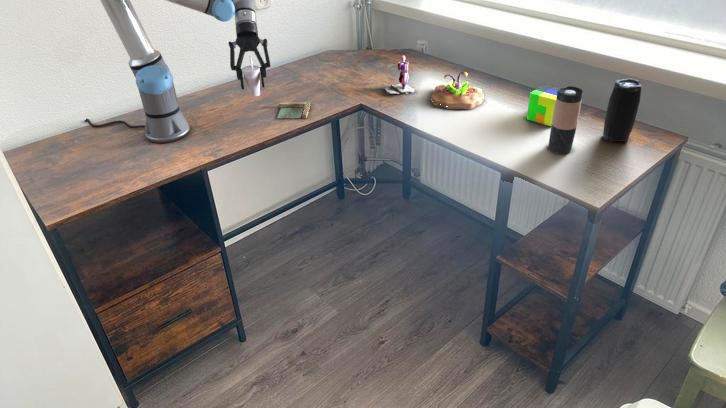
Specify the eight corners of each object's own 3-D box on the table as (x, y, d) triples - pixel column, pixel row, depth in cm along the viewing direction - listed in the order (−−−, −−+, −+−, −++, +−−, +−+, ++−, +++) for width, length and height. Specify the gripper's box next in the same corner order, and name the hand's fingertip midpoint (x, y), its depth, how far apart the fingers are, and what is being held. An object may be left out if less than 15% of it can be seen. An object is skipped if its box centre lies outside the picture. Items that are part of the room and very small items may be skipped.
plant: (478, 112, 204) (481, 83, 198) (426, 107, 210) (427, 78, 203) (486, 92, 220) (489, 64, 214) (438, 87, 225) (439, 60, 219)
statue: (405, 87, 229) (409, 51, 222) (414, 95, 222) (419, 58, 214) (381, 89, 225) (384, 52, 218) (390, 96, 218) (393, 59, 210)
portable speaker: (595, 138, 184) (608, 82, 173) (611, 129, 189) (624, 75, 178) (619, 147, 179) (634, 90, 168) (634, 138, 184) (649, 82, 173)
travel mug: (568, 156, 175) (580, 97, 164) (544, 150, 178) (554, 92, 167) (574, 146, 180) (586, 88, 169) (551, 141, 184) (561, 84, 172)
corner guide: (274, 118, 205) (274, 115, 205) (279, 106, 215) (279, 102, 214) (306, 118, 205) (306, 114, 204) (310, 105, 214) (310, 102, 213)
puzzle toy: (565, 117, 198) (570, 91, 193) (552, 126, 192) (557, 100, 187) (540, 110, 204) (544, 84, 198) (526, 119, 198) (530, 93, 193)
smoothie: (259, 98, 194) (254, 59, 186) (242, 97, 195) (236, 59, 187) (266, 91, 199) (261, 53, 191) (249, 90, 200) (243, 52, 192)
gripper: (216, 22, 191) (223, 84, 187) (272, 18, 193) (280, 79, 189) (220, 33, 198) (226, 93, 194) (274, 29, 201) (281, 88, 196)
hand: (252, 86), depth 192 cm, fingers closed on smoothie, 6 cm apart
